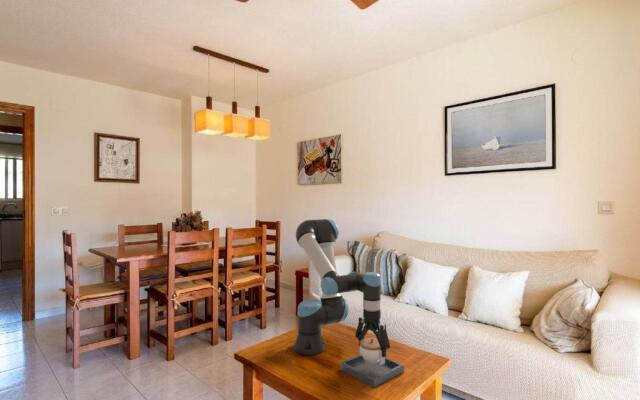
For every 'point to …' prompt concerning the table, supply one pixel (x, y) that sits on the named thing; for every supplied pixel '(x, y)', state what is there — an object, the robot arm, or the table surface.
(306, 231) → the robot arm
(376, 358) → the lidded jar
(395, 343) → the table surface
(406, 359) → the table surface
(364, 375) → the tray
